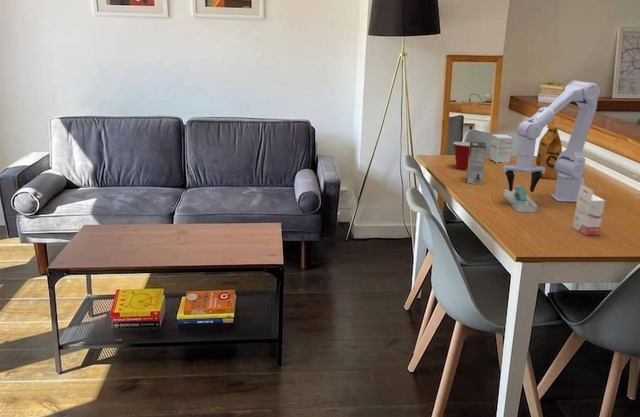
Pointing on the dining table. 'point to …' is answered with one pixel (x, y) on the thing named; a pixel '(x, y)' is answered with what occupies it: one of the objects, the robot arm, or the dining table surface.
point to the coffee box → (476, 162)
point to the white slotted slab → (520, 202)
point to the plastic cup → (462, 154)
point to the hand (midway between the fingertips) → (521, 191)
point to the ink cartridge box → (588, 212)
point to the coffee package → (549, 152)
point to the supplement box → (501, 148)
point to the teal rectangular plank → (520, 192)
